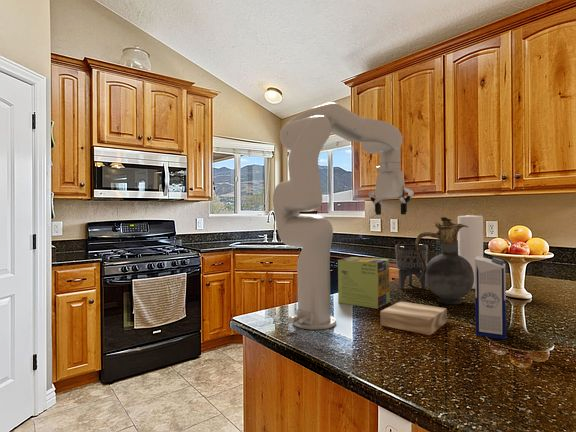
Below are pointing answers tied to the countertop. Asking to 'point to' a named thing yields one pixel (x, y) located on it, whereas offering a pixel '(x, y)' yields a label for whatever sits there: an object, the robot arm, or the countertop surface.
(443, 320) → the oak block
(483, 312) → the milk carton
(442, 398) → the countertop surface
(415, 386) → the countertop surface
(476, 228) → the cylinder container
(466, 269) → the pitcher
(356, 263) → the protein box
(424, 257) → the planter
